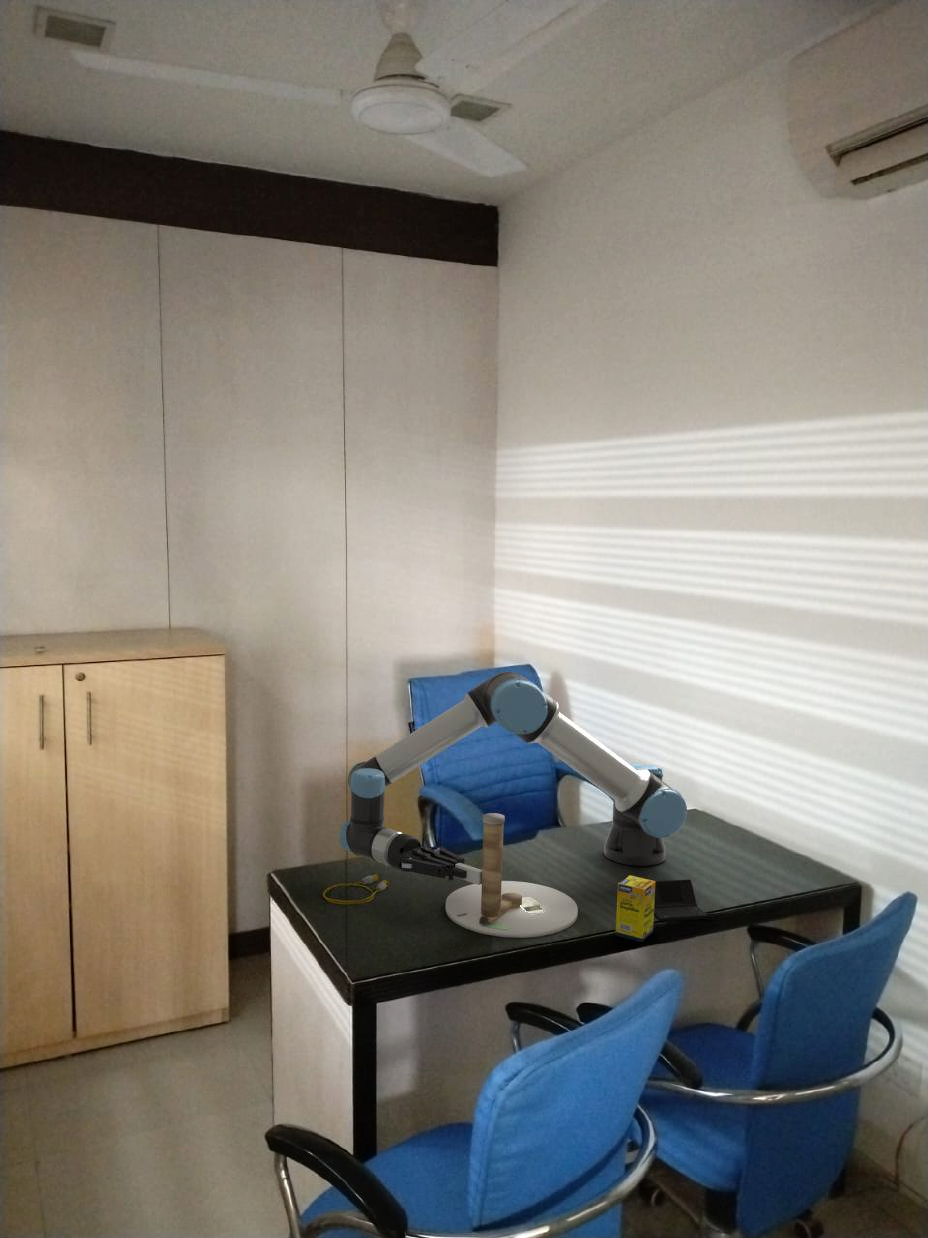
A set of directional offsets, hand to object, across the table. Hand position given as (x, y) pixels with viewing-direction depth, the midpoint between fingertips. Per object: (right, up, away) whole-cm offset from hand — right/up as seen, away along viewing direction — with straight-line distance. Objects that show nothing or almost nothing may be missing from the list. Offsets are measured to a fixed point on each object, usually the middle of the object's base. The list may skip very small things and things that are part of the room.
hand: (481, 877), depth 204 cm
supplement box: (+31, -11, -2) cm, 33 cm away
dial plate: (+7, -9, +9) cm, 14 cm away
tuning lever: (+4, -8, +4) cm, 9 cm away
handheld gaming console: (+42, -10, +11) cm, 44 cm away
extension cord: (-27, -8, +16) cm, 33 cm away
